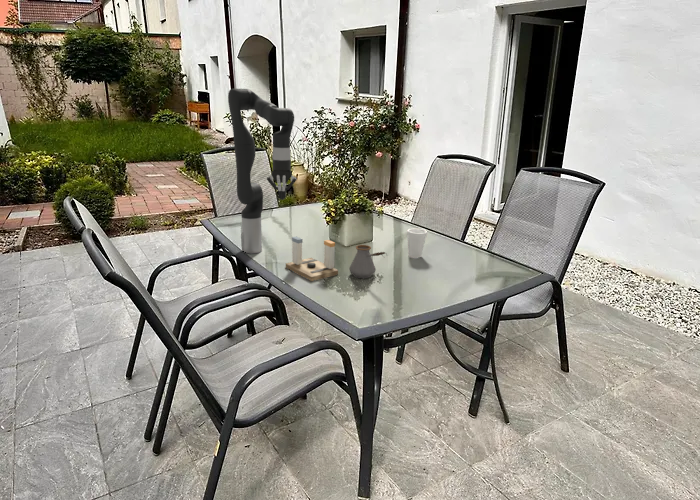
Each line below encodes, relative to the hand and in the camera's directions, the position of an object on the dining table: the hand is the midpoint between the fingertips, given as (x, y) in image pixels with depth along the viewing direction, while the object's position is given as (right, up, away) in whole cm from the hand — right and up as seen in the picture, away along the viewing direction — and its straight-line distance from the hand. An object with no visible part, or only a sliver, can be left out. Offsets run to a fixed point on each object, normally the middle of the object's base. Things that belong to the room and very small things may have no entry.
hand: (282, 199), depth 198 cm
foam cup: (+61, -25, +31) cm, 73 cm away
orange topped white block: (+20, -29, +5) cm, 35 cm away
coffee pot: (+37, -34, +1) cm, 50 cm away
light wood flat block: (+12, -31, +7) cm, 34 cm away
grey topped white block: (+5, -27, +8) cm, 29 cm away
